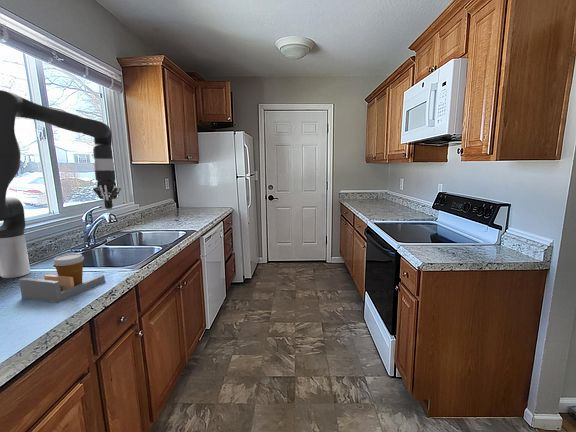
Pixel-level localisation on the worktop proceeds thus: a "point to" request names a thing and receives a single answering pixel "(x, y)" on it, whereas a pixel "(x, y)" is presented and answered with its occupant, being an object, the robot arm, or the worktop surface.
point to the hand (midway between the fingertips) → (109, 208)
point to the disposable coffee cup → (70, 266)
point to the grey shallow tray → (53, 289)
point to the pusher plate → (61, 281)
